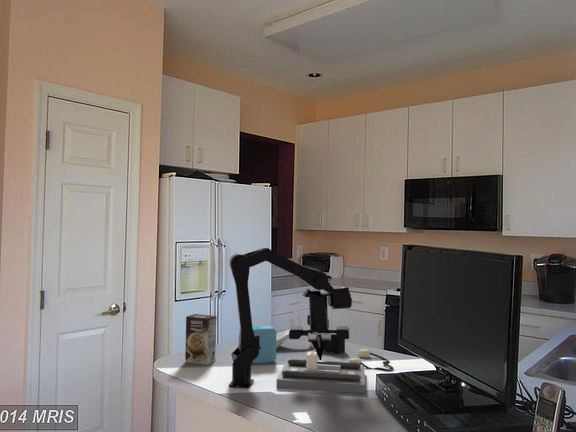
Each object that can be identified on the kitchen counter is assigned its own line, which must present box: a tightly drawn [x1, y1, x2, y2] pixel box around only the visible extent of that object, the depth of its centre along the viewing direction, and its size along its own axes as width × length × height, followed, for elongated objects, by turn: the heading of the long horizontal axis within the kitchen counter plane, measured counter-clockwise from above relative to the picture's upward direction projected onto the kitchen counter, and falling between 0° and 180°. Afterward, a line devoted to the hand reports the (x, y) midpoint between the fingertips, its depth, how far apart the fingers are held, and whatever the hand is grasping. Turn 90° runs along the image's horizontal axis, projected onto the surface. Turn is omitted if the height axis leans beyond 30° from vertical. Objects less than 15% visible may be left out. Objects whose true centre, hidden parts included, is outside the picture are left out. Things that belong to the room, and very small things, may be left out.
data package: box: [252, 325, 277, 364], centre depth 165 cm, size 12×4×12 cm, turn 106°
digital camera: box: [319, 332, 346, 355], centre depth 181 cm, size 10×5×7 cm, turn 50°
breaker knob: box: [306, 350, 318, 370], centre depth 146 cm, size 4×3×6 cm
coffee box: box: [184, 313, 217, 366], centre depth 164 cm, size 9×6×16 cm
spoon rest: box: [276, 329, 314, 349], centre depth 186 cm, size 24×12×7 cm, turn 97°
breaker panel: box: [276, 358, 366, 394], centre depth 146 cm, size 18×26×4 cm
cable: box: [347, 348, 395, 372], centre depth 165 cm, size 16×16×4 cm
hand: (320, 360), depth 146 cm, fingers closed
